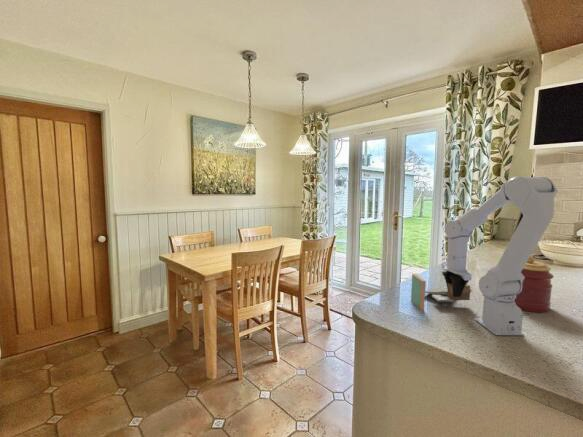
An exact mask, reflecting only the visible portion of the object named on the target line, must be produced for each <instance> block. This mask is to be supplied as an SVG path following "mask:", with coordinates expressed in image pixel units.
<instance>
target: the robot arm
mask: <svg viewBox="0 0 583 437" xmlns="http://www.w3.org/2000/svg"><path fill="white" fill-rule="evenodd" d="M558 191H559V190H558V189H557V186H556V185H555V184H554V182H553V180H551V179H550V178H548V177H546V176H537V177H535V176H534V177H533V176H520V175H519V176H517V175H516V176H513V177H511V178H510V179H508V180H507V181H506V182H504V183H502V184H501V185H500V188H499V190H498V191H496V192H495V193H494V194H493V195H492V196H490V197H489V198H488V199H486V201H485V202H483V203H482V204H481V205H480V206H473V207H468V208H467V209H466V210H467V211H466V212H465V213H463V214H461V215H459V216H457V218H456V219H455V220H448V221H447V223H446V224H445V226H444V233H445V234H446V236H447V237H448V239H447V251H446V252H447V253H446V262H442V263H441V266H442V267H441V268H442V270H443V271H442V275H443V277H444V280H445V283H446V284H445V285H446V288H447V289H448V283H452V285H453V295H454V296H455V297H461V294H462V292H463V289H464V287H465V285H466V284H468V283H469V282H470V281H472V276H473V275H472V274H471V273H470V272H469V271H468V270H467V269H466V268H467V258H468V257H467V252H468V243H469V242H470V238H471V236H472V235H473V232H474V231H475V230H476V229H477V228H479V227H480V226H481V225H483V224H486V222H487V221H488V219H489V215H492V213H494V212H496V211H497V210H500V209H501V208H503V207H504V206H506V205H507V204H509V203H511V202H512V204H513V205H514V206H516V208H517V209H518V210H519V211H520V212H521V214H522V218H521V220H520V221H519V224H518V225H517V227H516V229H515V230H514V233H513V234H512V237H511V239H510V240H509V243H508V244H507V246H506V247H505V249H504V251H503V253H502V256H501V258H500V260H499V261H498V263H497V264H496V265H494V266H492V268H490V269H489V270H487V272H486V274H484V275H483V276H481V277H480V278H479V280H478V288H479V291H480V293H481V294H482V297H483V305H482V317H481V318H479V317H476V318H475V321H476V322H478V323H479V324H480V325H481V326H483V327H485V329H486V330H488V331H490V332H491V333H492V334H494V335H495V336H525V333H524V332H522V330H523V329H522V327H523V320H524V319H523V318H524V317H523V316H524V313H523V310H521V309H520V308H519V307H518V306H517V305H516V303H515V299H516V295H517V294H519V293H520V292H521V291H522V282H523V280H524V278H525V277H524V276H523V274H522V273H521V271H522V269H523V268H524V266H525V264H526V263H527V261H528V259H529V257H530V256H532V254H533V252H534V250H535V249H536V247H537V245H538V244H539V243H540V240H541V239H542V237H543V235H544V233H545V232H546V230H547V228H548V226H549V225H550V223H551V222H552V220H553V217H554V215H555V197H556V195H557V193H558Z"/></svg>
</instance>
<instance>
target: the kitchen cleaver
mask: <svg viewBox="0 0 583 437" xmlns="http://www.w3.org/2000/svg"><path fill="white" fill-rule="evenodd" d="M447 291H448V289H447V287H439V288H434V289H430V290H425V294H431V295H447Z"/></svg>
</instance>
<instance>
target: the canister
mask: <svg viewBox="0 0 583 437" xmlns="http://www.w3.org/2000/svg"><path fill="white" fill-rule="evenodd" d="M551 270H552V269H551V267H550V266H549V265H546V263H544V262H540V261H536V259H535V257H534V256H532V255H531V256H530V257H529V259H528V261H527V263H526V264H525V266H524V268H523V269H522V271H521V273H522V274H523V276H524V277H525V278H524V280H523V282H522V291H521V292H520V293H519V294H517V295H516V299H515V303H516V305H517V306H518V307H519V308H520V309H521V310H522V311H526V312H532V313H547V312H549V310H550V308H551V298H552V297H551V296H552V288H553V284H552V279H554V275H553V273H551V272H550V271H551Z"/></svg>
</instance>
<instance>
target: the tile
mask: <svg viewBox="0 0 583 437" xmlns="http://www.w3.org/2000/svg"><path fill="white" fill-rule="evenodd" d="M426 283H427V282H426V280H425V279H424V278H422V277H421V276H420V275H418V274H417V273H412V275H411V287H410V288H411V289H410V290H411V291H410V302H411V303H413V305H415V306H416V308H417V309H419V311H425V301H426V300H425V298H426V293H425V291H426Z"/></svg>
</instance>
